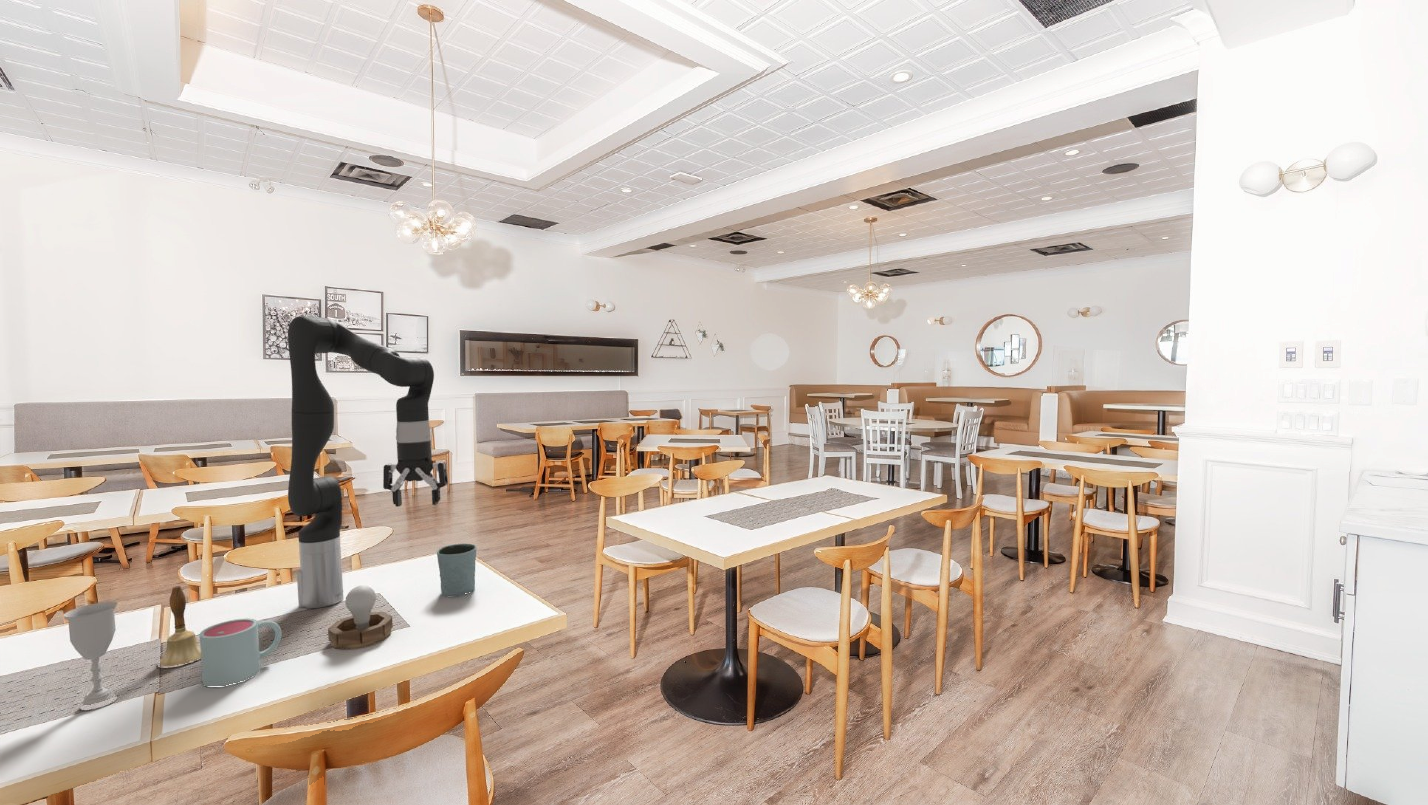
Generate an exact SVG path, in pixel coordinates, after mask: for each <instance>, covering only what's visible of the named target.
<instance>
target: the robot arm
mask: <svg viewBox="0 0 1428 805" xmlns="http://www.w3.org/2000/svg"><path fill="white" fill-rule="evenodd" d="M287 344H288V345H287V346H288V353H289V354H288V355H289V361H290V373H291V458H290V459H291V463H290V469H289V470H290V471H289V477H288V478H289V480H288V486H287V488H288V489H287V500H288V506H289V508H290V511H291V512H292V514H293V515H294V516H297V517H299V518H300V517H307V516H311V515H312V516H313V515H314V517H313V519H312V520H311V521H310V522H309V523H307V524H306V525H304V526H303V527H301V528H300V530H299V531H298V535H297V536H298V538H297V539H298V550H299V552H298V554H299V565H300V566H299V567H300V568H299V569H298V570H297V571H296V581H297V596H298V597H297V599H298V608H307V609H317V608H323V607H330V606H333V605H335V604H338V603H339V602H341V601H343V599H344V584H343V582H344V581H343V568H342V567H343V566H342V565H343V564H342V548H341V547H342V546H341V528H342V524H343V492H342V487H341V485H340V483H339V481H338V480H337V479H336V478H335V477H333V476H330V475H329V476H328V475H327V476H319V477H315V476H314V475H315V468H316V464H317V461H318V459H319V456H320V455H321V453H322V452H323V450H324V448H325V447H326V445H327V443H328V442H329V440H330V438H331V437H332V434H333V431H334V428H335V404H334V401H333V399H332V397H331V395H330V393H329V392H328V390H327V389H326V387H325V386H324V384H323V383H322V380H321V379H320V377H319V376H318V373H317V368H316V367H317V366H316V354H330V353H333V354H339V355H345V356H347V357H350V359H351V360H352V361H353V363H354V364H355V365H357V366H358V367H359V368H362V369H364V370H366V371H367V372H371V373H374V374H376V375H379V377H380V378H382V379H383V380H384V381H386V382H387V383H389V384H390V385H393V386H395V387H401V388H403V387H404V388H407V387H408V391H407V394H406V395H404V396H402V397H400V398H397V400H396V404H395V407H396V408H395V409H396V428H395V430H396V431H395V439H396V456H397V457H396V458H397V464H396V463H394V464H393V463H387V464H385V465H384V466H383V470H382V471H383V474H382V475H383V479H382V480H383V482H382V483H383V484H382V485H383V486H382V487H383V489H384V490H390V491H391V493H392V504H393V505H395V507H401V506H402V505H403V501H402V500H403V499H402V498H403V497H402V490H401V487H402V486H403V484H405V483H406V481H407V482H413V481H416V482H422V481H424V482H425V483H426V484H428V485H429V486H430V488H431V489H432V490H431V502H432V503H431V504H432V506H436V505H438V503H439V502H440V501H441V488H443V487H444V488H445V486H447V485H448V483H449V480H448V472H447V470H448V469H447V462H446V461H444V460H442V461H441V462H433V459H432V457H433V456H432V455H433V454H432V438H431V437H432V435H431V431H432V430H431V426H430V425H431V424H430V418H429V417H430V416H429V415H430V414H429V401H430V398H431V394H432V390H433V384H434V380H435V371H434V368H433V365H432V363H431V362H430V361H429V360H428V359H426V358H424V357H402V356H400V354H399V353H398V352H397V351H396V350H393V348H389V347H387V346H384V345H382V344H379V343H376V342H374V341H372V340H369V339H367V338H365V337H363V336H361V335H359V334H357V333H356V332H353V331H352V330H350V329H349V328H348V327H345V326H344V325H343V324H341V323H339V322H337V321H336V320H334V319H331V318H328V317H319V316H306V315H305V316H296V317H294V318H293V319H292V320H291V322H290V323H289V326H288V331H287ZM433 469H435V471H436V472H438V478H439V479H438V480H439V481H438V480H437V479H436V476H434V475H433V474H434V473H432V471H433ZM395 471H397V472H398V473H399V476H398V478H397V479H396V480H395V482H394V483H393V479H394V478H393V477H394V476H393V474H394V473H395Z"/></svg>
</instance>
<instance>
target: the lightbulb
mask: <svg viewBox="0 0 1428 805" xmlns="http://www.w3.org/2000/svg"><path fill="white" fill-rule="evenodd" d="M376 601H377V594H376V591H375V590H374V589H373V588H372V587H370V586H368V585H358V586H355V587H353V588H352V589H351V590H350V591H349V592H348V593H347V595H346V597H345V606H346V608H347V610H348V611H349V612H350V613H351V616H353V618H354V623H355V624H356V631H359V630H363V629H367V628H369V621H370V613H371V612H372V610H373V608H374V606H375V604H376Z"/></svg>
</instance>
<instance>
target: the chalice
mask: <svg viewBox="0 0 1428 805" xmlns="http://www.w3.org/2000/svg"><path fill="white" fill-rule="evenodd" d="M117 605H118V602H116V601H104V602H103V601H101V602H97V603H92V604H87V605H83V606H79V607H76V608H74V609H71V610H69V611H66V612H65V613H64V614H63V617H64V618H65V619H66V620H67V621H68V630H69V632H68V633H69V641H70V643H71V645H72V647H73V648H74V649H75V651H76V652H77V653H78V654H79V655H80V656H81V657H82V658H83V659H84V660H88V661H89V660H90V661H91V667H90V669H89V671H90V672H91V673H92V677H91V678H90V679H89V681H90V682H92V683H93V688H92V690H91V691H89V692H87V693H86V695H85V696H84V697H83V701H82V702H81V705H82V704H83V705H91V704H94V703H99V702H102V701H105V700H108V699H110V698H111V697H113V696H114V695H115V692H113V690H112V689H111V688H110V687H104V686H103V685H102V683H101V682H102V679H103V678H104V677H105V676H103V675H102V674H101V669H102V667H103V666H102V665H101V664H100V658H101V657H102V656H104V655H105V654H106V653H107V652H108V650H109V647H110V646H111V643H112V641H113V639H114V637H115V633H116V630H117V628H116V618H115V617H116V616H115V611H116V608H117Z"/></svg>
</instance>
